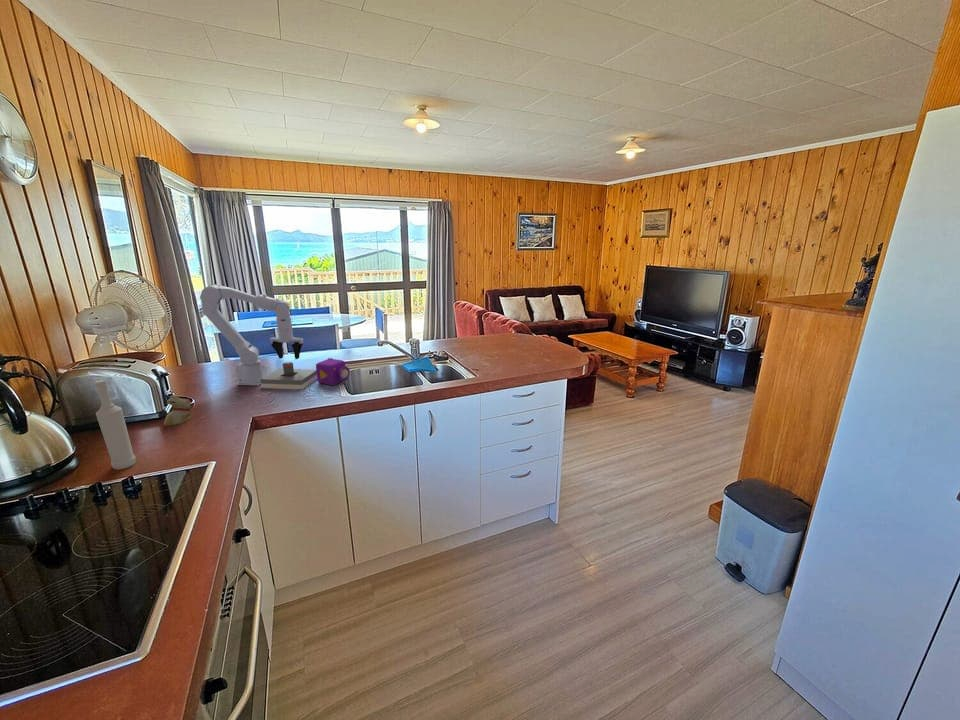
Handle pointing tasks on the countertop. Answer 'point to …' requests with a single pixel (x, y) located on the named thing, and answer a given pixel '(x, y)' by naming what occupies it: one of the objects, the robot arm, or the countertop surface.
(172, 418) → the chocolate bunny
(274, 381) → the white flat box
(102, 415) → the bottle
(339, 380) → the toy camera
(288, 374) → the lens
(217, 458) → the countertop surface
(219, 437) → the countertop surface
